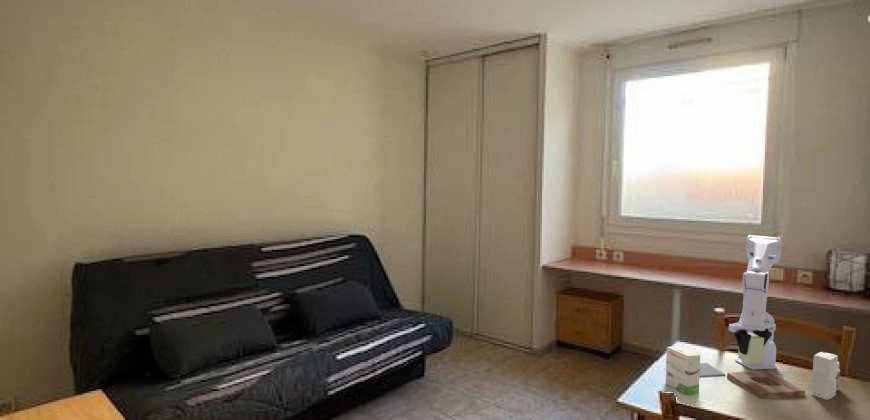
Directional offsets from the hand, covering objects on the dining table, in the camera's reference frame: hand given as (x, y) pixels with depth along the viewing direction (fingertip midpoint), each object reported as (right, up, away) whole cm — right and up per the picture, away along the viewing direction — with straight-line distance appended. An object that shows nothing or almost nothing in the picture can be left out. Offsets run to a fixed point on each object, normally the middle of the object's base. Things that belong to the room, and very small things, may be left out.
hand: (750, 353), depth 153 cm
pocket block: (+3, -10, -2) cm, 10 cm away
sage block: (0, -2, 0) cm, 2 cm away
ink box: (-23, -10, -3) cm, 25 cm away
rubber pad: (-9, -8, +10) cm, 16 cm away
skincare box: (+17, -11, -7) cm, 21 cm away
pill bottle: (+22, -10, -2) cm, 25 cm away
